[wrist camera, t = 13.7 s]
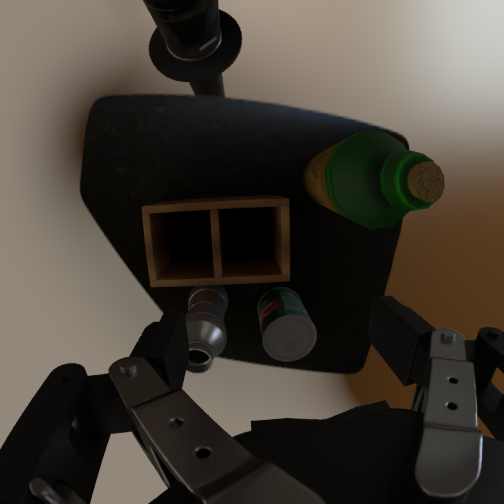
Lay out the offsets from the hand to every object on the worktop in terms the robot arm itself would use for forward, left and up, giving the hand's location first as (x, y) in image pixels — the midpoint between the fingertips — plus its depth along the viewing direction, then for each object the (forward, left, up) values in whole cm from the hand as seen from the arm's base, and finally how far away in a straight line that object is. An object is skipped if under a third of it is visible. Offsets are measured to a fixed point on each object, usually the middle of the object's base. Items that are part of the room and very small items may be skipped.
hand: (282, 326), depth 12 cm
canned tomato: (+16, +5, -36) cm, 40 cm away
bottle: (-6, +13, -36) cm, 39 cm away
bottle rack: (+2, -4, -36) cm, 36 cm away
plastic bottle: (+13, -7, -36) cm, 39 cm away
